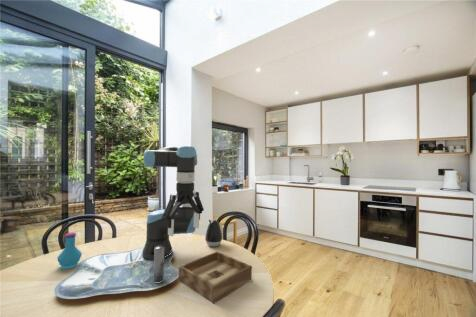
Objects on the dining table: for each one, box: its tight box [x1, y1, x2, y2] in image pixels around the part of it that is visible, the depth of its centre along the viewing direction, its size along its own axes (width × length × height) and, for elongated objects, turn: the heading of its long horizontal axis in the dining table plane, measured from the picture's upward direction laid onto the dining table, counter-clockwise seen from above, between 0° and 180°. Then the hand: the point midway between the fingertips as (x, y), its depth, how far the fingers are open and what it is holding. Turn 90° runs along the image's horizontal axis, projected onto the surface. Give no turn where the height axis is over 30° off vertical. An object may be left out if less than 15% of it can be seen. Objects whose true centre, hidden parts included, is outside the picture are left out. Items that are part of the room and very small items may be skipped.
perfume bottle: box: [57, 232, 83, 270], centre depth 104 cm, size 9×9×15 cm
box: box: [178, 251, 253, 304], centre depth 94 cm, size 22×22×6 cm
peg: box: [152, 246, 165, 283], centre depth 93 cm, size 4×4×14 cm
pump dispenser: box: [204, 219, 223, 248], centre depth 134 cm, size 10×10×15 cm
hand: (184, 231), depth 94 cm, fingers open, 13 cm apart
